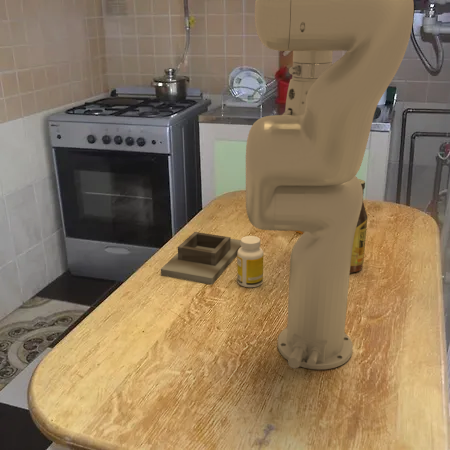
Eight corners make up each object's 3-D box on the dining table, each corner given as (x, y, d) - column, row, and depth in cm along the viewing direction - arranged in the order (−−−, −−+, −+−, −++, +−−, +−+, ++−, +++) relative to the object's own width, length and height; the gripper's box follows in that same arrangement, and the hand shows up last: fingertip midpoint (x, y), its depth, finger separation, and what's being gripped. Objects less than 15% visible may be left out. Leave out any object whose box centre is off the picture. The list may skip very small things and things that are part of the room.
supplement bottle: (267, 279, 116) (268, 237, 113) (254, 290, 112) (255, 247, 108) (245, 273, 119) (245, 232, 115) (232, 284, 115) (232, 241, 111)
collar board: (212, 284, 115) (211, 265, 113) (160, 275, 119) (159, 256, 117) (244, 246, 132) (244, 229, 130) (199, 239, 136) (198, 222, 134)
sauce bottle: (363, 275, 118) (371, 187, 110) (333, 272, 119) (340, 185, 111) (362, 261, 124) (370, 177, 116) (334, 259, 125) (340, 175, 117)
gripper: (288, 76, 100) (285, 167, 106) (358, 70, 108) (351, 155, 115) (264, 72, 106) (262, 159, 112) (332, 66, 114) (327, 147, 121)
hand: (307, 157), depth 114 cm, fingers open, 9 cm apart
